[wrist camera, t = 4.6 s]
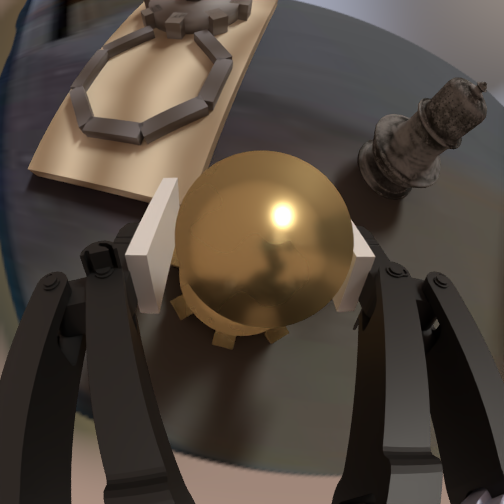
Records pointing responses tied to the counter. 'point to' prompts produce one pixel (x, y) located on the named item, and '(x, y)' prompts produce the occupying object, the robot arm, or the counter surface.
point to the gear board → (154, 97)
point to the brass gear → (260, 245)
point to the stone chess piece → (420, 139)
